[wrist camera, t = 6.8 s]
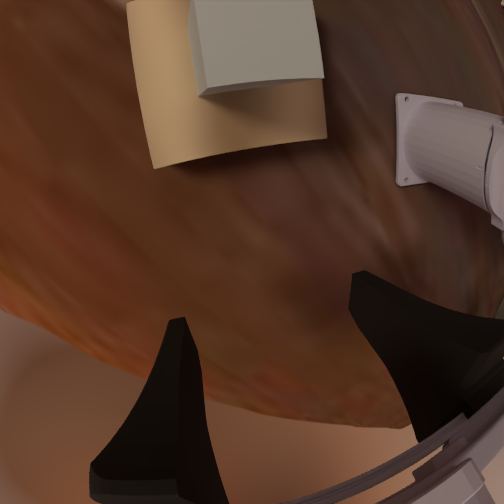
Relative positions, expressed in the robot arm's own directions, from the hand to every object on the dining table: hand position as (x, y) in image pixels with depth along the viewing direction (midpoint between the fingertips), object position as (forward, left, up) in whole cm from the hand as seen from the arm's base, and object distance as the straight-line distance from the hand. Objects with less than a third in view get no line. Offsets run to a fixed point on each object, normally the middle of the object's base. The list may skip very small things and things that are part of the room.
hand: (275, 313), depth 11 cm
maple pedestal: (-1, -10, -10) cm, 14 cm away
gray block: (-1, -11, -7) cm, 13 cm away
